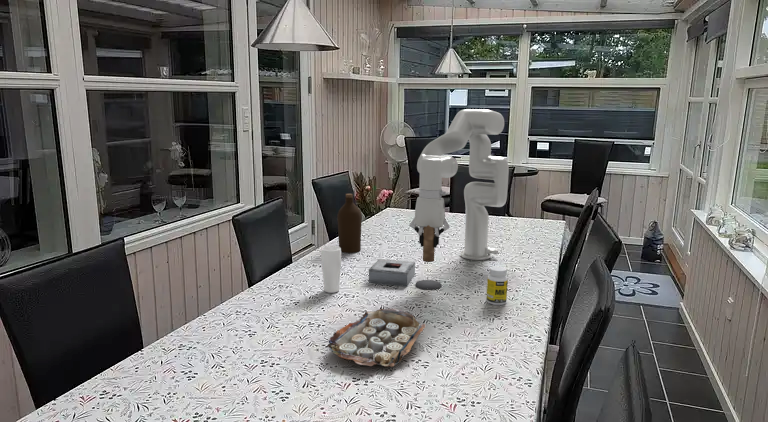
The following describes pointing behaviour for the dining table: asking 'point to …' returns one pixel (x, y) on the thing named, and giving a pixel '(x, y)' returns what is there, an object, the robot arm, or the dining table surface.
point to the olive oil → (349, 226)
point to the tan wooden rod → (428, 244)
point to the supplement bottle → (497, 285)
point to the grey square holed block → (392, 272)
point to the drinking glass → (331, 268)
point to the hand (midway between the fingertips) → (428, 245)
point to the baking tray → (377, 337)
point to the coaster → (428, 284)
